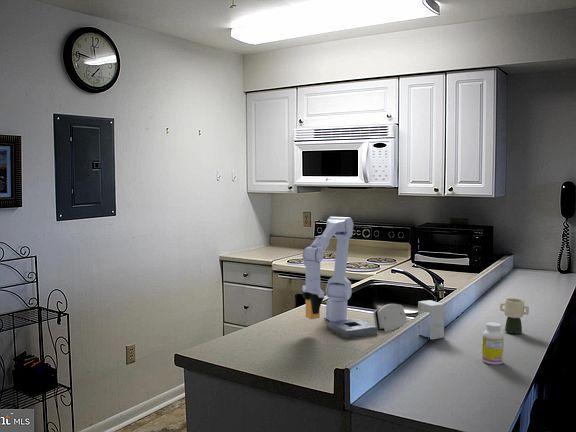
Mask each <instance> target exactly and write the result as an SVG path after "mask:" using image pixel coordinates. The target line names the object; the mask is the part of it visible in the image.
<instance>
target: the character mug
mask: <svg viewBox="0 0 576 432" xmlns="http://www.w3.org/2000/svg"><path fill="white" fill-rule="evenodd" d="M503 306H504V308H503ZM499 310H500V311H501V312H504V315H505V316H506V321H505V326H504V331H505V332H507V333H510V334H520V333H522V332H523V327H522V320H521V318H523V317H524V315H527V316H528V315H529V313H530V307H529V306H527V305H525V300H523V299H521V298H516V297H515V298H514V297H513V298H511V297H509V298H504V302H500V304H499Z"/></svg>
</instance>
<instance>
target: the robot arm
mask: <svg viewBox="0 0 576 432" xmlns="http://www.w3.org/2000/svg"><path fill="white" fill-rule="evenodd" d="M353 232H354V221H353V219H352V217H350V216H349V217H345V216H329V217H328V218H327V220H326V227H325V229H324V231H323V232H322V234H320V235H317V237H316V238H314V240H313V242H312V243H311V244H310V245H309V246H307V247H305V248H304V249H303V252H302V259H303V265H304V267H305V285H302V286H301V290H302V293H301V296H302V298H303V300H304V302H305V304H306V299H310V300H311V303H312V311H313V314H318V313H319V309H320V308H321V305H322V302H323V300H324V299H325V295H326V297H327V298H328V299H327V301H326V303H325V304H326V305H325V316H324V319H325V320H328V321H329V322H332V321H340V320H347V319H349V318H348V300H349V299H351V297H352V293H353V292H352V291H353V290H352V282H351V281H350V280H349V279H348V278H347V276H346V274H347V267H348V256H349V255H348V253H349V245H350V238H352V237H353ZM333 237H335V238H336V240H337V241H336V248H335V251H336V252H335V257H334V260H335V261H334V269H333V270H334V271H333V275H332V276H331V277H330V278H329V279H328V280H327V283H326V287H325V291H324V290H322V289H321V262H322V261H323V258H324V255H325V251H326V249H327V248H328V247H329V246H330V240H331V238H333ZM320 310H321V309H320Z"/></svg>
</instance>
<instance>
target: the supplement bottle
mask: <svg viewBox="0 0 576 432" xmlns="http://www.w3.org/2000/svg"><path fill="white" fill-rule="evenodd" d="M485 327H486V329H485V330H484V331H482V349H481V353H482V355H481V356H482V359H481V360H482V361H483V362H484V363H486V364H489V365H493V366H495V365H502V364H503V363H504V358H505V355H504V352H505V349H504V348H505V333H504V332H503V331H501V329H502V324H501V323H499V322H494V321H493V322H492V321H489V322H486V323H485Z"/></svg>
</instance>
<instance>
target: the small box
mask: <svg viewBox="0 0 576 432" xmlns="http://www.w3.org/2000/svg"><path fill="white" fill-rule="evenodd" d="M424 312H429V313H431V317H432V318H431V333H430V339H429V340H436V339H442V338H444V336H445V334H444V333H445V304H444V303H441V302H437V301H434V300H432V299H431V300H429V299H428V300H420V301H418V302H417V316H418V315H420V314H422V313H424Z"/></svg>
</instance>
